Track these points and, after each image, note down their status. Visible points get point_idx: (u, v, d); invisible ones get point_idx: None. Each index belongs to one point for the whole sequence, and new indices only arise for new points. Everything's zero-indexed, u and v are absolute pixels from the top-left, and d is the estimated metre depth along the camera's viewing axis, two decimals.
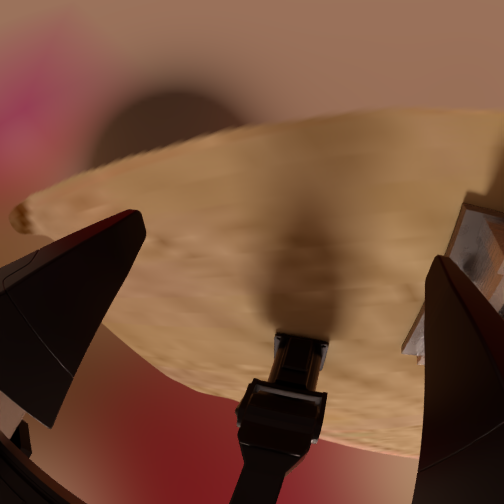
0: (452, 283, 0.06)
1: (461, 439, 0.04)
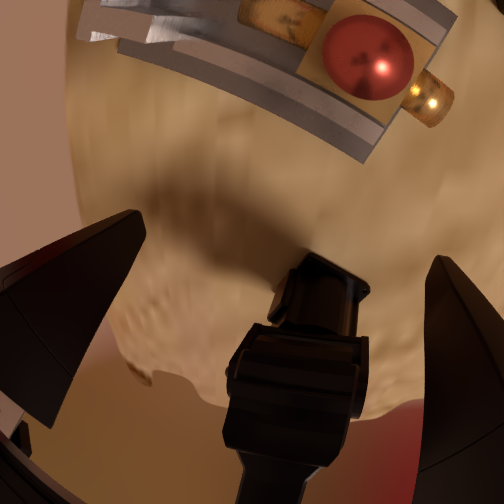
0: (452, 283, 0.06)
1: (461, 439, 0.04)
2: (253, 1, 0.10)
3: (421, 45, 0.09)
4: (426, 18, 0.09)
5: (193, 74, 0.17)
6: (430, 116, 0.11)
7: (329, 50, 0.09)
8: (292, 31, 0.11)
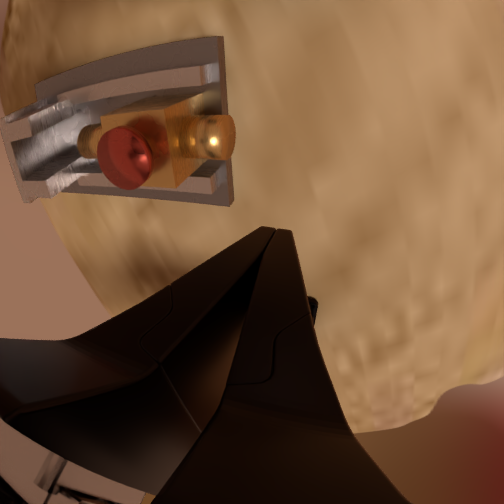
0: (264, 252, 0.07)
1: None
2: (82, 145, 0.18)
3: (155, 116, 0.14)
4: (180, 70, 0.15)
5: (103, 192, 0.25)
6: (211, 155, 0.16)
7: (104, 169, 0.15)
8: None
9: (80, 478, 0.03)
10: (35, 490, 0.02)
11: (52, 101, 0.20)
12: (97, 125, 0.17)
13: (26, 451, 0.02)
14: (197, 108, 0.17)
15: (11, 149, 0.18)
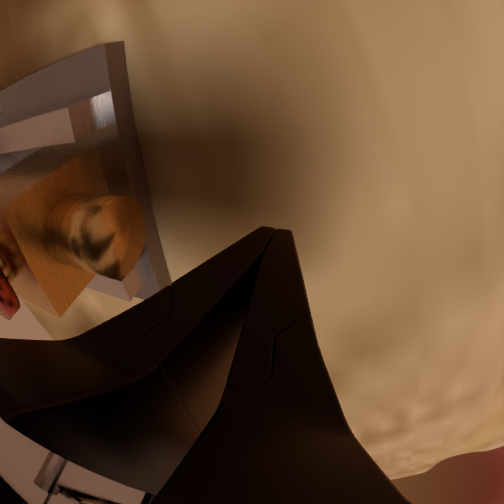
0: (264, 252, 0.07)
1: None
2: None
3: None
4: (47, 117, 0.08)
5: None
6: (96, 273, 0.09)
7: None
8: None
9: (80, 478, 0.03)
10: (35, 490, 0.02)
11: None
12: None
13: (26, 451, 0.02)
14: (86, 175, 0.10)
15: None
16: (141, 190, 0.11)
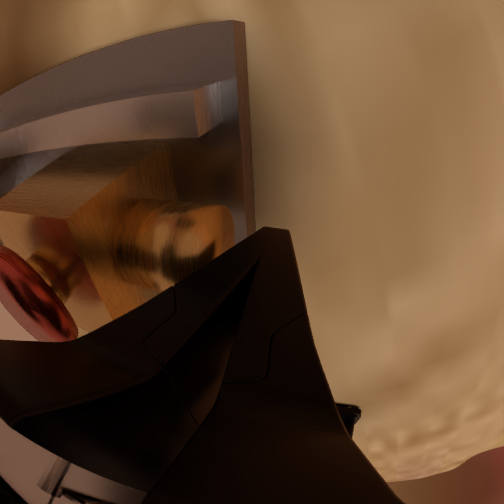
0: (262, 252, 0.07)
1: None
2: None
3: (56, 230, 0.06)
4: (150, 101, 0.07)
5: None
6: None
7: (9, 310, 0.07)
8: None
9: (83, 481, 0.03)
10: (38, 493, 0.02)
11: None
12: None
13: (29, 454, 0.02)
14: (157, 177, 0.09)
15: None
16: (250, 201, 0.10)
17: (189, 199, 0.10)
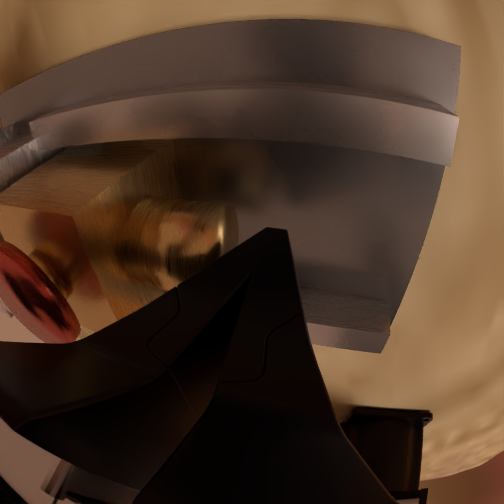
0: (260, 252, 0.07)
1: None
2: None
3: (61, 226, 0.06)
4: (407, 112, 0.05)
5: None
6: None
7: (8, 306, 0.07)
8: None
9: (87, 483, 0.03)
10: (41, 495, 0.02)
11: (26, 129, 0.10)
12: None
13: (32, 456, 0.02)
14: (162, 175, 0.09)
15: None
16: None
17: (369, 220, 0.09)
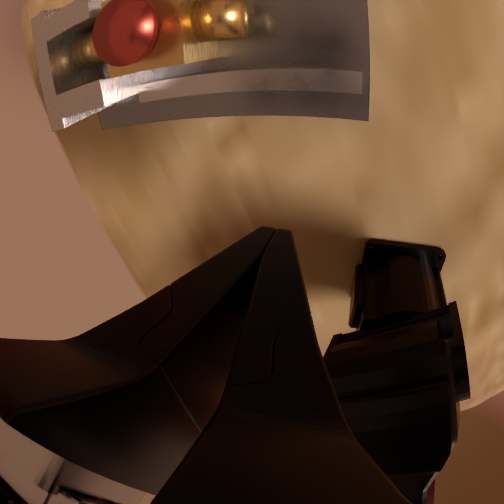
0: (265, 252, 0.07)
1: None
2: (75, 50, 0.13)
3: None
4: None
5: (172, 116, 0.18)
6: (230, 27, 0.11)
7: (99, 49, 0.10)
8: None
9: (80, 478, 0.03)
10: (35, 490, 0.02)
11: None
12: None
13: (26, 451, 0.02)
14: None
15: (45, 52, 0.11)
16: (367, 20, 0.12)
17: (331, 13, 0.12)
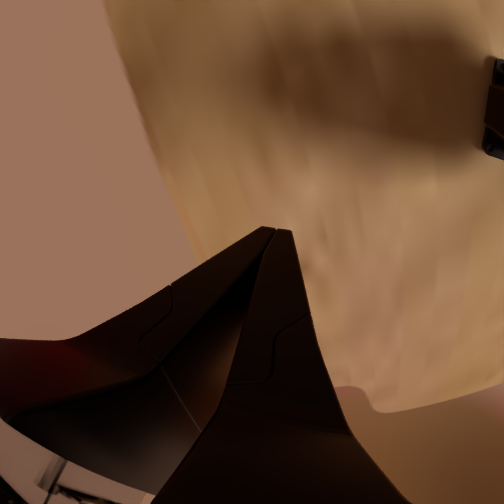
0: (264, 252, 0.07)
1: None
2: None
3: None
4: None
5: None
6: None
7: None
8: None
9: (80, 478, 0.03)
10: (35, 490, 0.02)
11: None
12: None
13: (26, 451, 0.02)
14: None
15: None
16: None
17: None
